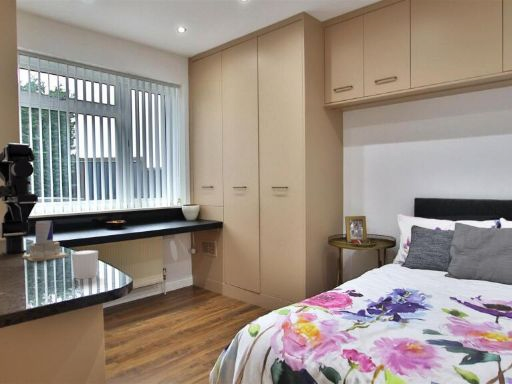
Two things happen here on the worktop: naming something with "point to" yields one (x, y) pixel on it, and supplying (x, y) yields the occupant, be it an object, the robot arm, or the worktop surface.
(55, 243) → the cup bracket
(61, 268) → the worktop surface
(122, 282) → the worktop surface
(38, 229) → the energy drink
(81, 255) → the white cup
